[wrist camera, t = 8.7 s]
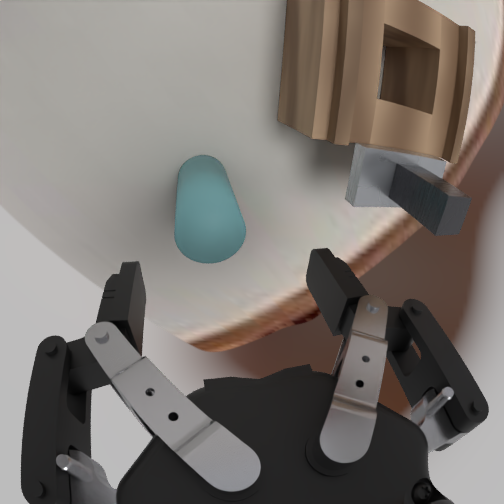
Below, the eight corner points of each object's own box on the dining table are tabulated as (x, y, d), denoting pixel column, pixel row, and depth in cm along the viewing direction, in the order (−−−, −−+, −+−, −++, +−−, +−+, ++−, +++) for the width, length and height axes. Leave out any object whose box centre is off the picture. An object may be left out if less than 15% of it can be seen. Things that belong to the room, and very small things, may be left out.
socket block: (277, 120, 22) (318, 142, 15) (287, -12, 15) (334, -42, 8) (406, 137, 25) (462, 165, 18) (420, 32, 18) (481, 36, 11)
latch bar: (345, 198, 19) (397, 249, 14) (355, 142, 16) (420, 178, 11) (423, 201, 20) (475, 242, 15) (436, 156, 18) (494, 190, 13)
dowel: (179, 201, 24) (178, 266, 17) (176, 156, 22) (171, 204, 14) (226, 198, 25) (244, 260, 17) (226, 154, 22) (247, 199, 15)
